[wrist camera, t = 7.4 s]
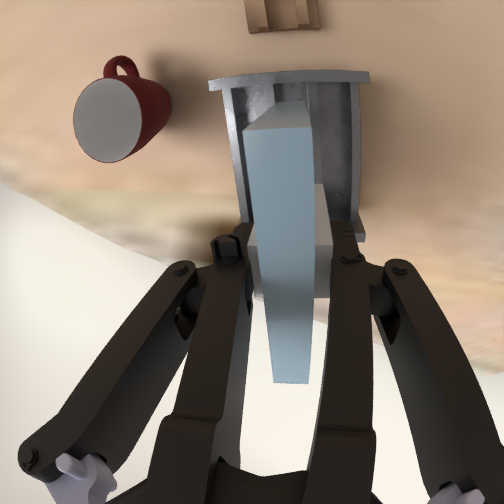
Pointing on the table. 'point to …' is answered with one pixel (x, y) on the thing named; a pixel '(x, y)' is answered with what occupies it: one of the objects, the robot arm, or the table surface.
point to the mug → (119, 112)
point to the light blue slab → (284, 232)
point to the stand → (281, 15)
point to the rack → (323, 130)
